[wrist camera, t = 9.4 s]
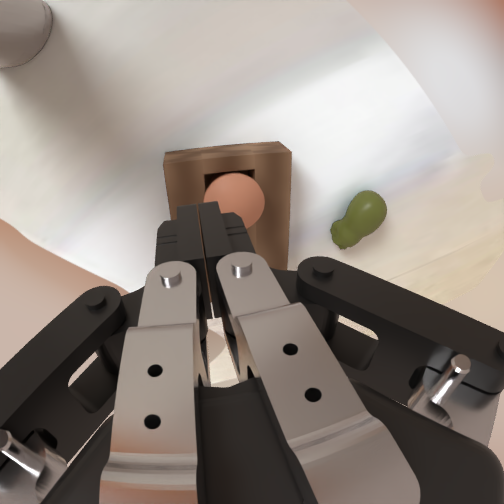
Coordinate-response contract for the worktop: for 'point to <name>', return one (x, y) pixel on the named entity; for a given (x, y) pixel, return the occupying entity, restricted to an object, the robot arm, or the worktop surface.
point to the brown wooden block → (248, 163)
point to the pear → (359, 219)
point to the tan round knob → (236, 195)
